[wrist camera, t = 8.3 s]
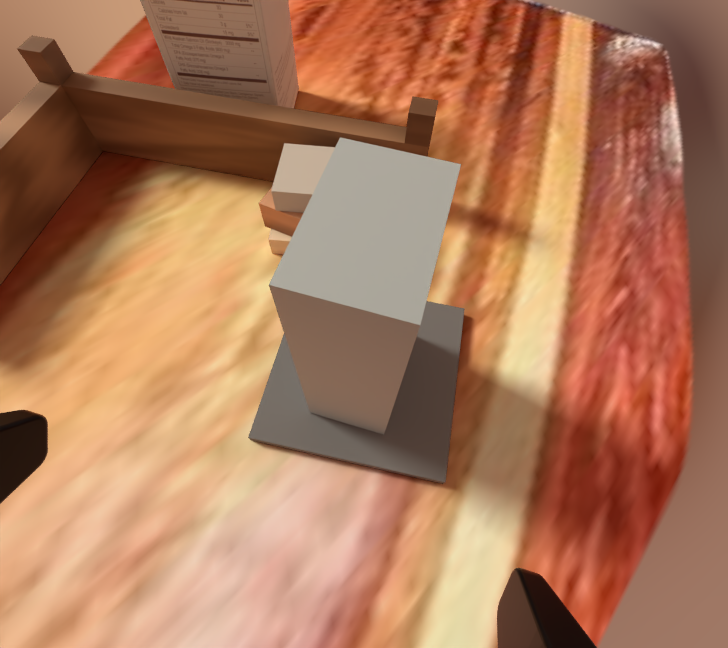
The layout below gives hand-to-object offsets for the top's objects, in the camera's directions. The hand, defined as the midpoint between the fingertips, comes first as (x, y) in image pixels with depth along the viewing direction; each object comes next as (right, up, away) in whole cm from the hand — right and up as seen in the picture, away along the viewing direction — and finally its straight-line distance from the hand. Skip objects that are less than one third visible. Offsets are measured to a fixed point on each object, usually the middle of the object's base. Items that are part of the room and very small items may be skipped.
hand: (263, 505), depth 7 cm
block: (+2, +1, +15) cm, 15 cm away
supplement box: (-8, +20, +26) cm, 34 cm away
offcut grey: (-1, +11, +17) cm, 21 cm away
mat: (+2, +1, +15) cm, 16 cm away
